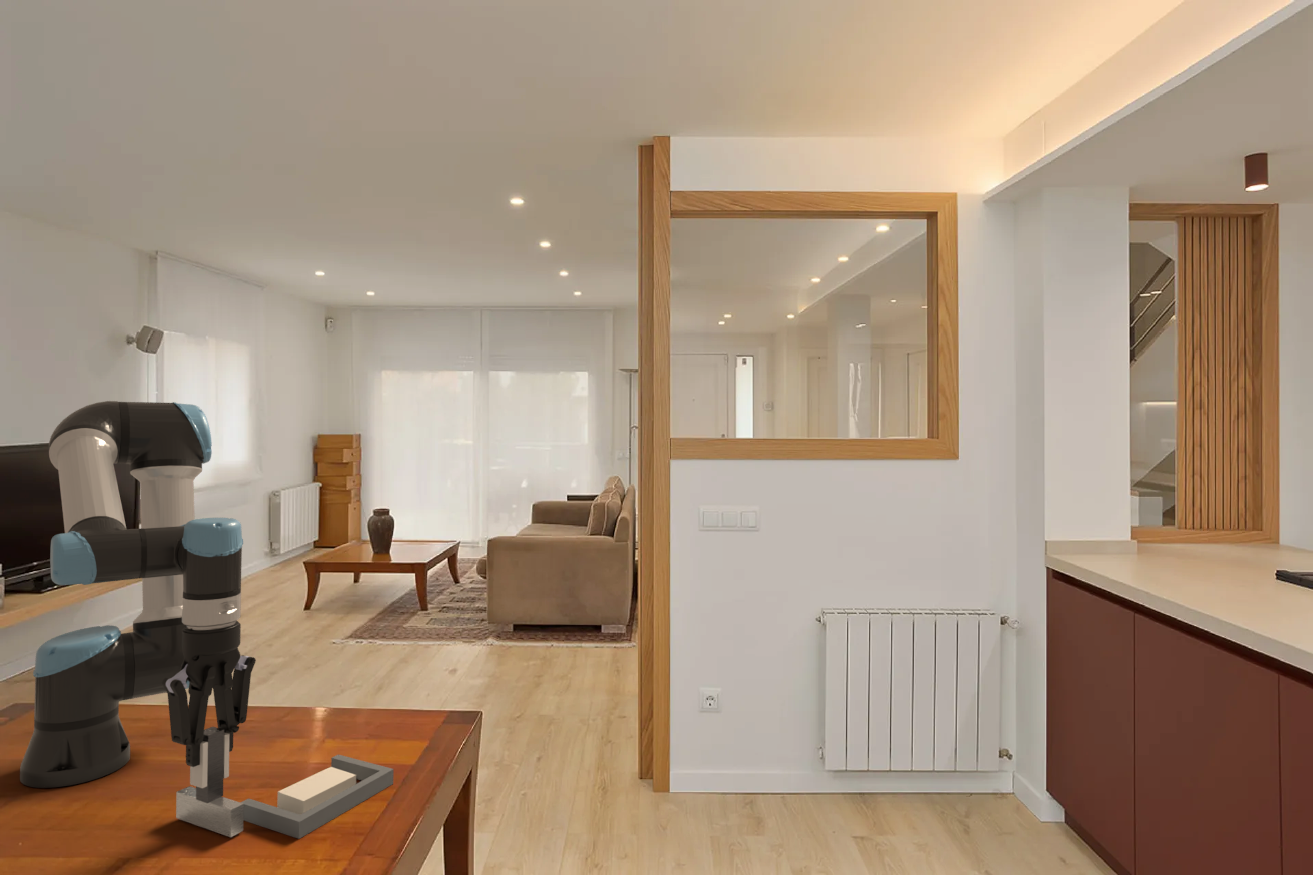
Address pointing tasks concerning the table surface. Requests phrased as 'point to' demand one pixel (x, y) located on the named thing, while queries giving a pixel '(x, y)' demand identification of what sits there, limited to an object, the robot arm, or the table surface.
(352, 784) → the cream tile
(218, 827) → the grey inverted t block
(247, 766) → the table surface
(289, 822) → the frame
